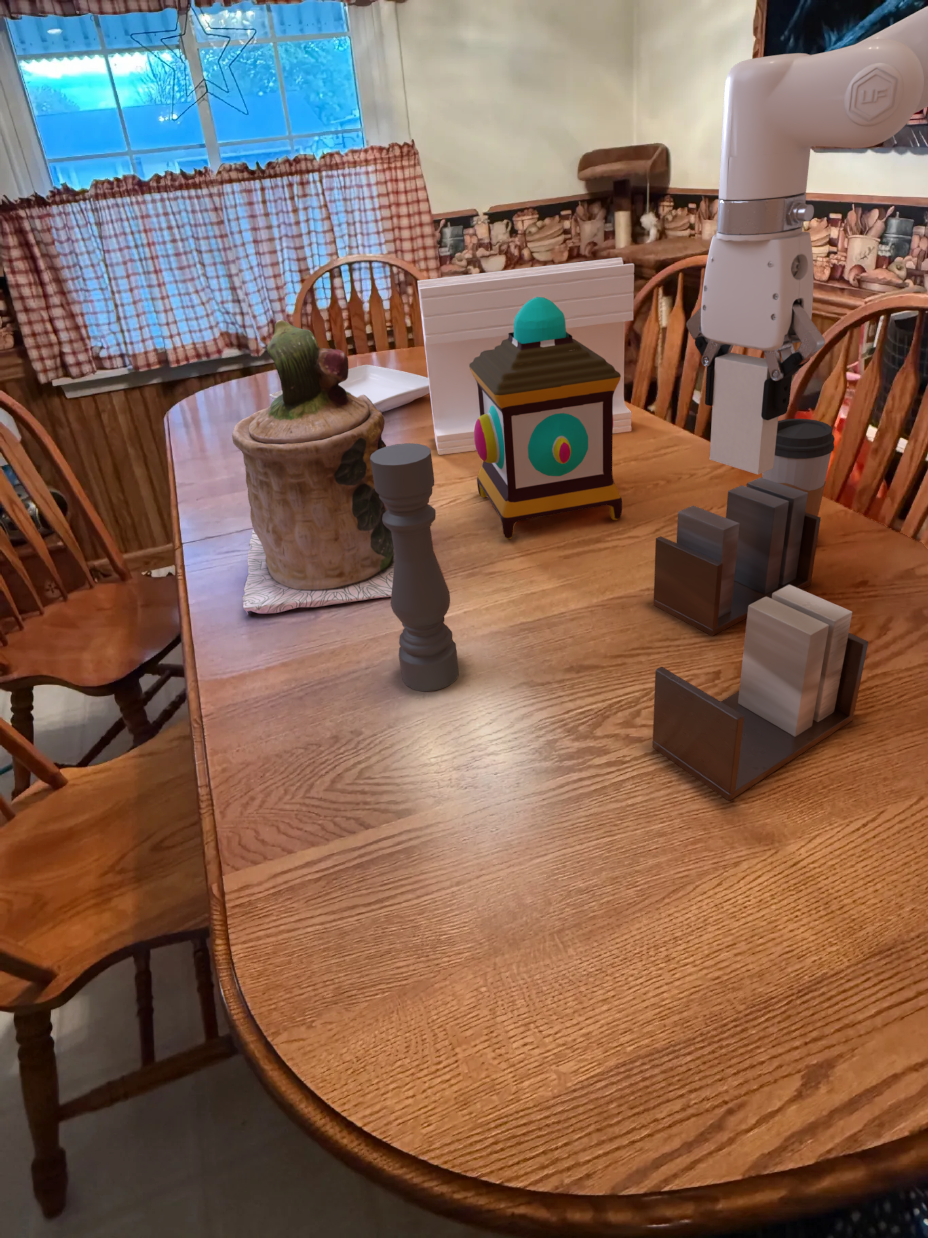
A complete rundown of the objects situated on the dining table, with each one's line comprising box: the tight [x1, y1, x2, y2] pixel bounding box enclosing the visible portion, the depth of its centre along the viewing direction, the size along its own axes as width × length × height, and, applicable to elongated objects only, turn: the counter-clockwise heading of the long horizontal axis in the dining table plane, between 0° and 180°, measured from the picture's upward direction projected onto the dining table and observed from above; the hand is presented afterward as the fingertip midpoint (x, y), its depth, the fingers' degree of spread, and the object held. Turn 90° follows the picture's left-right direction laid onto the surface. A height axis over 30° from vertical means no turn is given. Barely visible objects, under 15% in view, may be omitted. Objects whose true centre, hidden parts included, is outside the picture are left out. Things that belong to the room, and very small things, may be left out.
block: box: [417, 257, 635, 456], centre depth 143 cm, size 35×8×28 cm, turn 96°
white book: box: [709, 352, 783, 475], centre depth 85 cm, size 2×6×11 cm, turn 34°
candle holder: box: [370, 442, 460, 692], centre depth 82 cm, size 6×6×25 cm
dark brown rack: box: [651, 585, 869, 802], centre depth 73 cm, size 17×9×12 cm, turn 124°
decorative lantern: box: [469, 297, 623, 540], centre depth 115 cm, size 20×20×30 cm
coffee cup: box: [761, 418, 835, 517], centre depth 104 cm, size 8×8×15 cm
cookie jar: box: [231, 319, 395, 615], centre depth 105 cm, size 25×25×32 cm
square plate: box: [268, 364, 430, 414], centre depth 177 cm, size 27×27×4 cm
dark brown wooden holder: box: [652, 477, 821, 637], centre depth 94 cm, size 17×9×12 cm, turn 124°
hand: (744, 407), depth 84 cm, fingers closed on white book, 6 cm apart
